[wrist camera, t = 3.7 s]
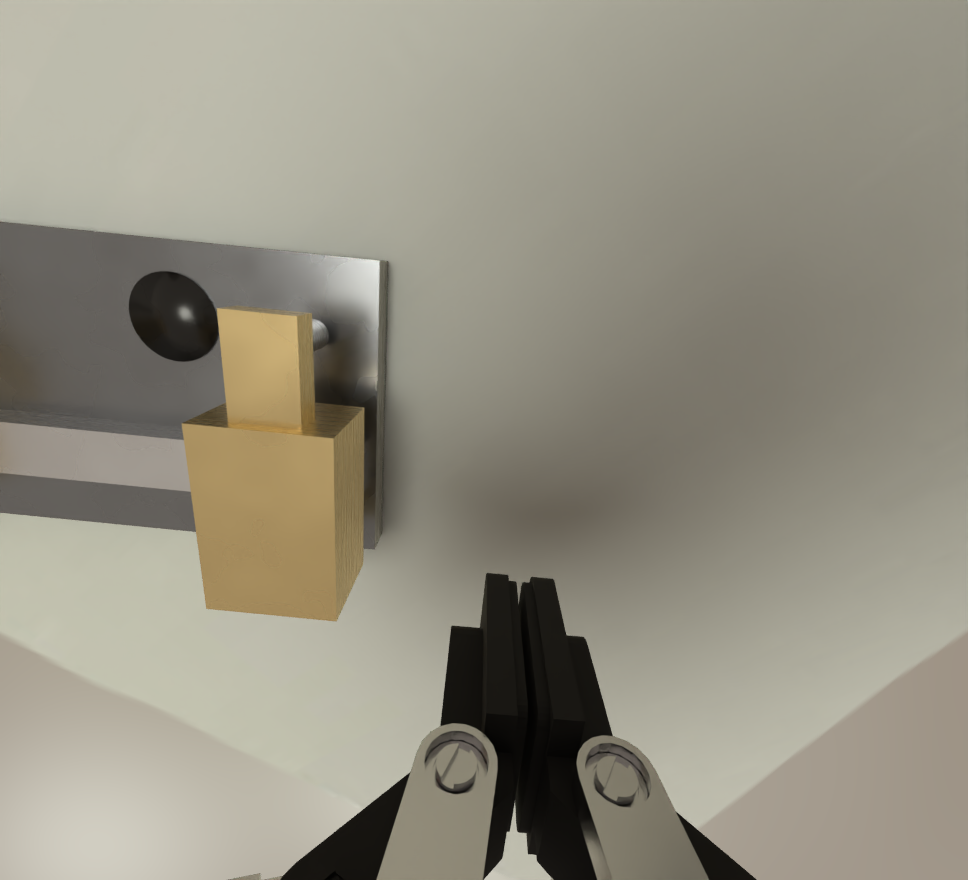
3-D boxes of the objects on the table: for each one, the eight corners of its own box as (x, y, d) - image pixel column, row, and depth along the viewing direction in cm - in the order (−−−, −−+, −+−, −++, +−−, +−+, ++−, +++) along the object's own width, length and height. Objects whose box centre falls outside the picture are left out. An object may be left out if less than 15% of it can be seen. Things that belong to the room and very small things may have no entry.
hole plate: (387, 261, 16) (330, 255, 11) (381, 533, 20) (336, 634, 14) (-244, 197, 16) (-635, 156, 10) (-131, 483, 20) (-375, 565, 14)
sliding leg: (374, 309, 15) (331, 321, 11) (370, 546, 18) (336, 621, 14) (251, 297, 15) (165, 305, 11) (268, 537, 18) (206, 608, 14)
